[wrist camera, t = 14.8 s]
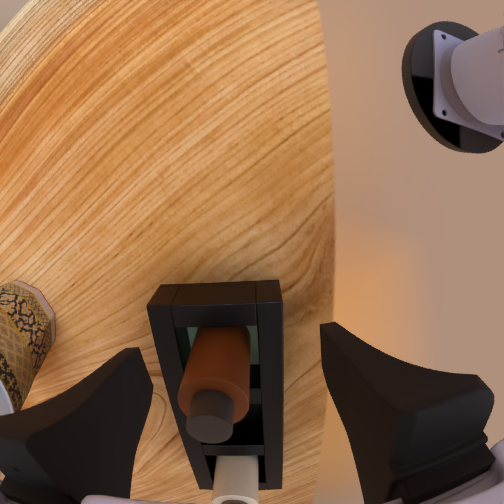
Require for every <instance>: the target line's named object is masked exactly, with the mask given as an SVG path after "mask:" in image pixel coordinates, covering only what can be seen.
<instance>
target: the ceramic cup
mask: <svg viewBox="0 0 504 504" xmlns="http://www.w3.org/2000/svg"><path fill="white" fill-rule="evenodd" d="M54 340H55V314H54V312H53V310H52V309H51V307H50V306H49V304H48V303H47V301H46V300H45V298H44V296H43V295H42V293H41V292H40V291H39V290H38V289H36V288H33V287H31V286H29V285H27V284H25V283H22V282H20V281H13V282H10V283H7V284H4V285H2V286H0V416H1V415H6V414H11V413H15V412H18V411H20V410H21V408H22V406H23V404H24V402H25V399H26V397H27V395H28V393H29V391H30V388H31V386H32V383H33V381H34V378H35V376H36V375H37V373H38V371H39V369H40V367H41V365H42V363H43V361H44V359H45V357H46V355H47V353H48V352H49V350H50V348H51V346H52V344H53V342H54Z"/></svg>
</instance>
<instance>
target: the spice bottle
mask: <svg viewBox="0 0 504 504" xmlns="http://www.w3.org/2000/svg"><path fill="white" fill-rule="evenodd" d="M250 344H251V338H250V333H249V330H248V329H247V327H246V326H231V327H198V329H197V332H196V335H195V338H194V342H193V345H192V348H191V351H190V355H189V358H188V362H187V365H186V368H185V372H184V375H183V379H182V382H181V385H180V389H179V392H178V404H179V406H180V408H181V410H182V411H183V412H184V414H185V415H187V416H188V417H187V422H186V430H187V432H188V433H189V434H190V435H191V436H192V437H193V438H195V439H196V440H199V441H201V442H205V443H221V442H224V441H226V440H228V439H229V438H230V437H231V435H232V433H233V424H234V423H236V422H238V421H240V420H241V419H242V418H243V417H244V416H245V415H246V414H247V412H248V409H249V389H250Z"/></svg>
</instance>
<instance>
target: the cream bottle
mask: <svg viewBox="0 0 504 504" xmlns="http://www.w3.org/2000/svg"><path fill="white" fill-rule="evenodd" d="M211 503H212V504H259V463H258V455H256V456H216V465H215V474H214V483H213V492H212V501H211Z"/></svg>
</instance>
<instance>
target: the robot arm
mask: <svg viewBox="0 0 504 504" xmlns="http://www.w3.org/2000/svg"><path fill="white" fill-rule="evenodd" d="M441 35H442V36H443V37H444V39H443V38H442V36H441ZM432 39H433V114H434V116H435V117H437V118H440V119H443V120H446V121H450V122H453V123H456V124H458V125H461V126H464V127H467V128H470V129H473V130H475V131H478V132H481V133H483V134H486V135H488V136H491V137H493V138H496V139H498V140H501V141H503V142H504V26H501V27H499V28H496V29H493V30H491V31H488V32H486V33H483V34H481V35H478V36H476V37H473V38H471V39H468V40H466V41H463V40H460V39H458V38H456V37H454V36H451V35H449V34H447V33H444V32H442V31H439V30H435V31H433V32H432ZM442 111H444V112H445V115H443V114H442ZM501 134H502V137H501ZM320 339H321V357H322V369H323V372H324V376H325V380H326V383H327V387H328V389H329V392H330V394H331V396H332V399H333V401H334V404H335V406H336V408H337V410H338V413H339V415H340V417H341V420H342V422H343V425H344V427H345V430H346V432H347V435H348V438H349V442H350V445H351V449H352V453H353V456H354V460H355V464H356V468H357V472H358V476H359V481H360V485H361V489H362V494H363V498H364V504H504V439H502V440H501V441H499V442H498V443H496V444H495V445H494V446H493V447H492V448H491V449H490V450H489V449H488V447H487V445H486V444H485V443H486V442H487V441H488V437H487V436H486V434H485V433H484V432H483V430H484V427H485V425H486V423H487V421H488V419H489V416H490V414H491V412H492V408H493V405H494V394H493V392H492V391H491V389H490V388H489V387H488V386H487V385H486V384H485V383H484V382H483V381H482V380H481V379H480V377H478V376H477V375H473V374H458V373H457V374H456V373H448V372H442V371H437V370H432V369H427V368H423V367H420V366H417V365H413V364H410V363H407V362H404V361H402V360H399V359H397V358H394V357H392V356H390V355H388V354H385V353H383V352H382V351H380V350H378V349H376V348H374V347H372V346H371V345H369V344H367V343H366V342H364V341H362V340H361V339H359V338H358V337H356V336H355V335H353V334H352V333H350V332H349V331H347V330H346V329H345V328H343V327H342V326H340V325H339V324H338V323H336V322H331V323H325V324H320ZM153 387H154V386H153V383H152V381H151V378H150V376H149V373H148V371H147V368H146V365H145V363H144V360H143V357H142V355H141V352H140V349H139V347H135V348H125V349H123V350H122V351H120V352H119V353H117V354H116V355H115V356H113V357H112V358H111V359H110V360H108V361H107V362H106V363H104V364H103V365H102V366H100V367H99V368H98V369H97V370H95V371H94V372H93V373H91V374H90V375H89V376H87V377H86V378H84V379H83V380H82V381H80V382H79V383H77V384H76V385H74V386H73V387H71V388H70V389H68V390H66V391H65V392H63V393H61V394H59V395H57V396H55V397H53V398H51V399H49V400H47V401H45V402H43V403H40V404H38V405H36V406H33V407H30V408H28V409H25V410H21V411H18V412H15V413H11V414H6V415H1V416H0V471H1V472H2V473H3V474H4V475H5V478H4V479H3V481H2V480H0V504H194V503H170V502H155V501H144V500H134V499H130V489H131V480H132V472H133V466H134V460H135V454H136V450H137V447H138V443H139V440H140V437H141V434H142V431H143V428H144V425H145V422H146V419H147V415H148V412H149V409H150V406H151V400H152V394H153Z"/></svg>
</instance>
